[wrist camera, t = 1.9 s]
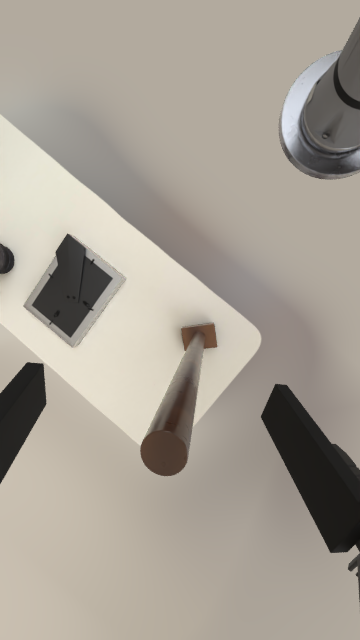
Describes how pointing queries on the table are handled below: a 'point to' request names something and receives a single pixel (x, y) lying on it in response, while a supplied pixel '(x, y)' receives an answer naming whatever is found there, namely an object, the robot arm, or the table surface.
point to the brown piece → (178, 407)
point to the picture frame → (73, 291)
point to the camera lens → (5, 259)
